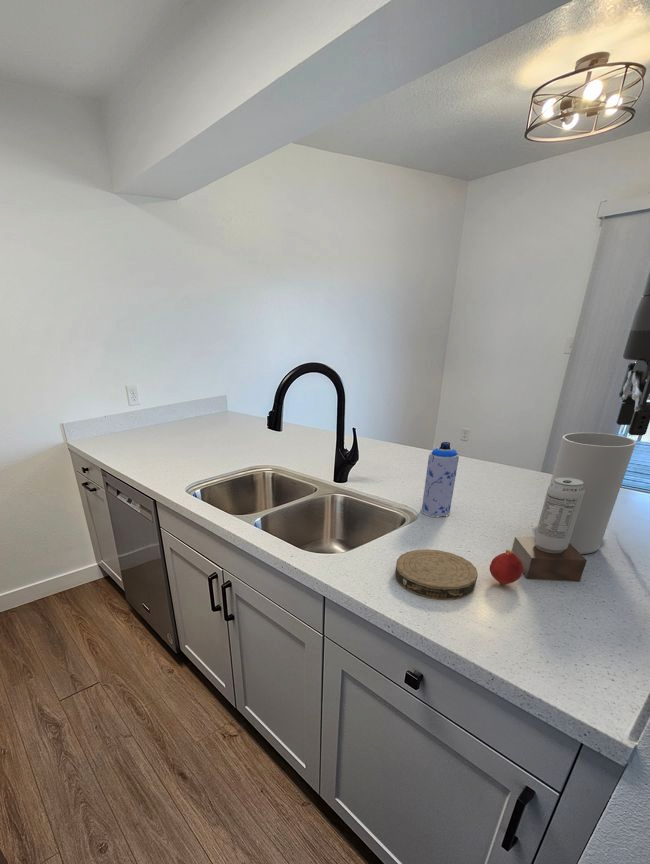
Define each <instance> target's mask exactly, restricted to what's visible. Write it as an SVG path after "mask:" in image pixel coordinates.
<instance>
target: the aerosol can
mask: <svg viewBox="0 0 650 864" xmlns="http://www.w3.org/2000/svg"><path fill="white" fill-rule="evenodd" d="M427 459H428V460H427V466H426V473H425V474H426V475H425V482H424V488H423V497H422V504H421V508H420V512H421V514H423V513H424V514H426V515H425V516H427V515H430V516H446V515H449V514H450V515H451V512H452V511H451V507H452V502H453V495H454V490H455V483H456V477H457V471H458V465H459V459H460V455H459V453H458V452H457V451H456V449H454V448H453V447H451V442H449V441H443V442H441V443H440V446H438V447H436V448H434V449H433V450H432V451H431V452H430V453H429V455H428V458H427ZM424 514H423V515H424ZM450 515H449V516H450ZM430 516H429V517H430ZM446 517H447V516H446Z"/></svg>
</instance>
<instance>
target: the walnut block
mask: <svg viewBox="0 0 650 864" xmlns="http://www.w3.org/2000/svg"><path fill="white" fill-rule="evenodd" d="M534 538H535V536H534V537H531V536H515V537H514V540H513V543H512V547H511V551H512V552H513V553H514V554H515V555H516V556H518V557H519V559H520V560H521V562H522V564H523V573H522V575H523V576H524V578H525V579H528V580H545V581H562V582H563V581H565V582H581V579H582V576H583V573H584V570H585V567H586V565H587V559H586V558H585V556H583V554H580V553H579V552H578V551H577V550H576V549H575V548H574V547H573V546H572V545H571V544H570V543H569V545H568V548H567V549H565V550H563V552H561V553H548V552H544V551H541V550H539V549H538V548H537V547H536V544H535V543H534Z"/></svg>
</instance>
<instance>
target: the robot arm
mask: <svg viewBox="0 0 650 864" xmlns="http://www.w3.org/2000/svg"><path fill="white" fill-rule="evenodd" d="M622 358H623V359H624V360H627V361H635V362H629V363H628V365H627V369H626V372H625V375H624V378H623V382H622V385H621V387H620V392H619V394H618V397H619V398H620V399H619V400H620V403H621V404H620V408H619V410H618V414H617V418H616V421H615V423H616V424H617V425H618V426H629V427H628V429H627V434H629V435H630V436H645V435H646V434H647V432H648V428H649V425H650V270H649V271H648V274H647V277H646V281H645V284H644V288H643V291H642V296H641V298H640V300H639V303H638V305H637V308H636V309H635V313H634V316H633V319H632V322H631V326H630V330H629V333H628V337H627V341H626V344H625V347H624V351H623V354H622Z"/></svg>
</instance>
